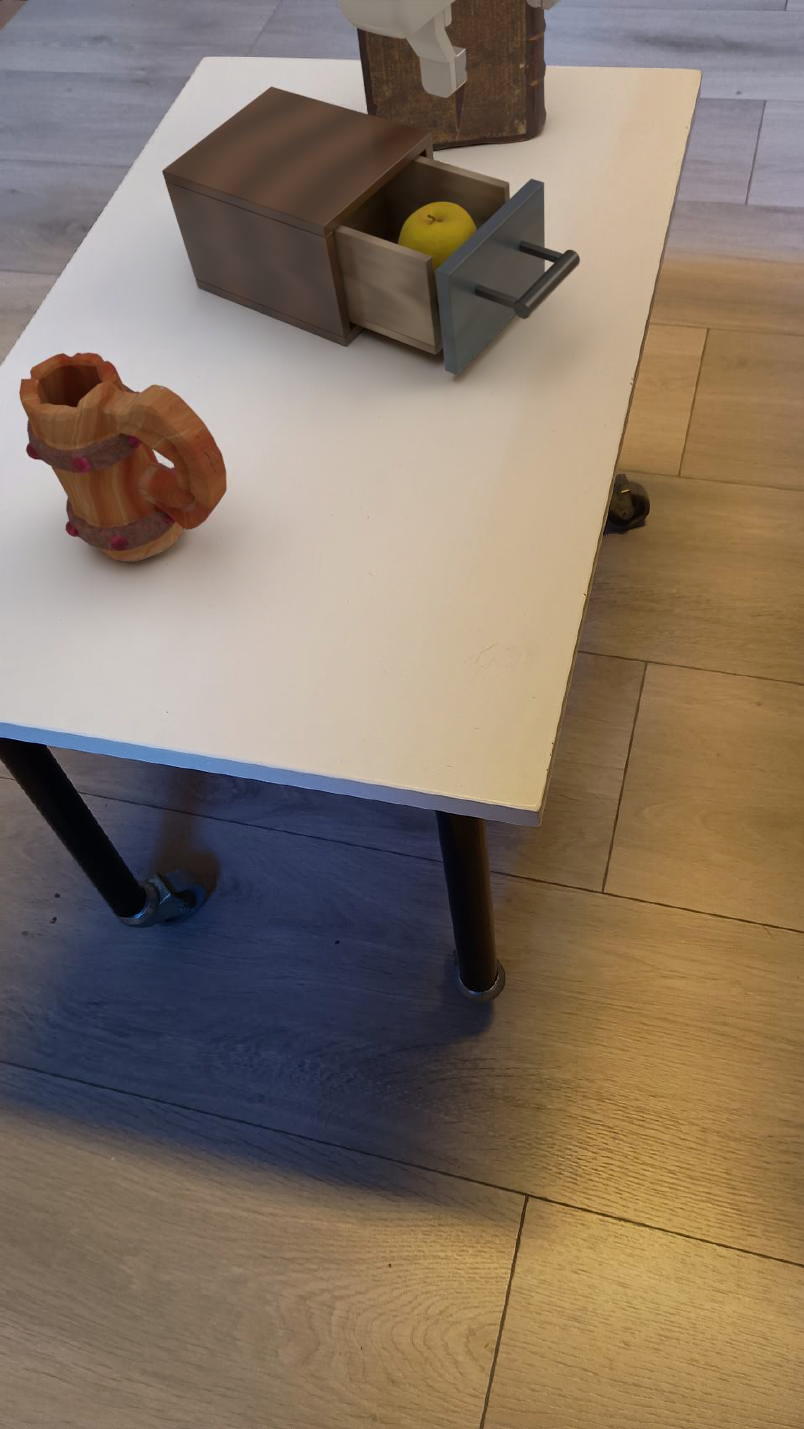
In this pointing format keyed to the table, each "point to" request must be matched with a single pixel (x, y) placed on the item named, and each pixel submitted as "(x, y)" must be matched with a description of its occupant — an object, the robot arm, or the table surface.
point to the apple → (437, 232)
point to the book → (497, 83)
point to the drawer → (448, 262)
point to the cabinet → (284, 203)
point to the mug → (121, 455)
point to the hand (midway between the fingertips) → (497, 44)
